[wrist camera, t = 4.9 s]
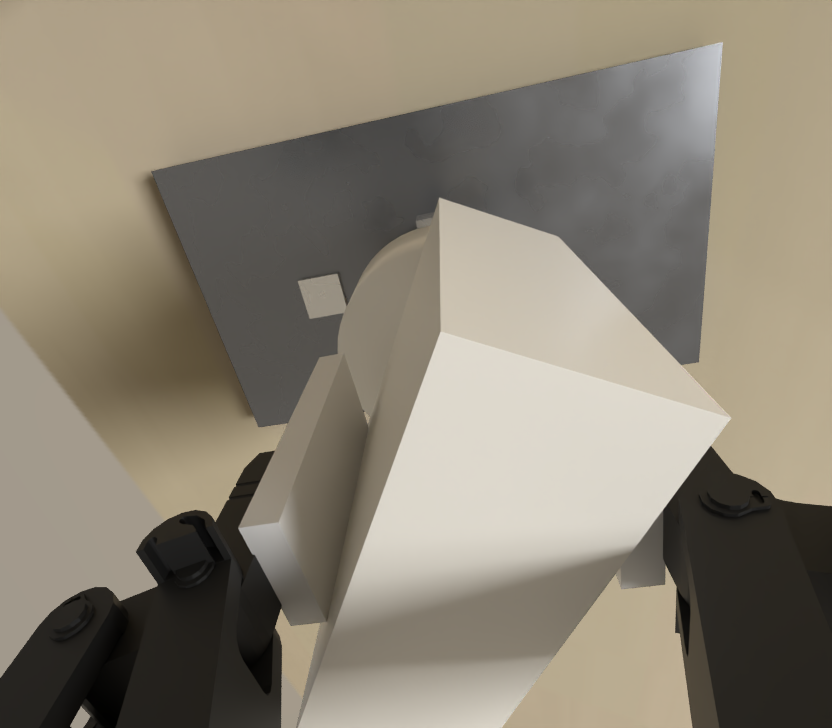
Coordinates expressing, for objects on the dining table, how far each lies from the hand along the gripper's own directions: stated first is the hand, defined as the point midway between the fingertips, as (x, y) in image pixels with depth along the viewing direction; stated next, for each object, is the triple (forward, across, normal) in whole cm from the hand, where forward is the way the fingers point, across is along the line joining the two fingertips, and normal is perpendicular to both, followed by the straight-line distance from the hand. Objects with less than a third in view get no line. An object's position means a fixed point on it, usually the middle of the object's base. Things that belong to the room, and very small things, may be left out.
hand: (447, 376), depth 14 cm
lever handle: (+4, 0, 0) cm, 4 cm away
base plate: (+12, 0, 0) cm, 12 cm away
